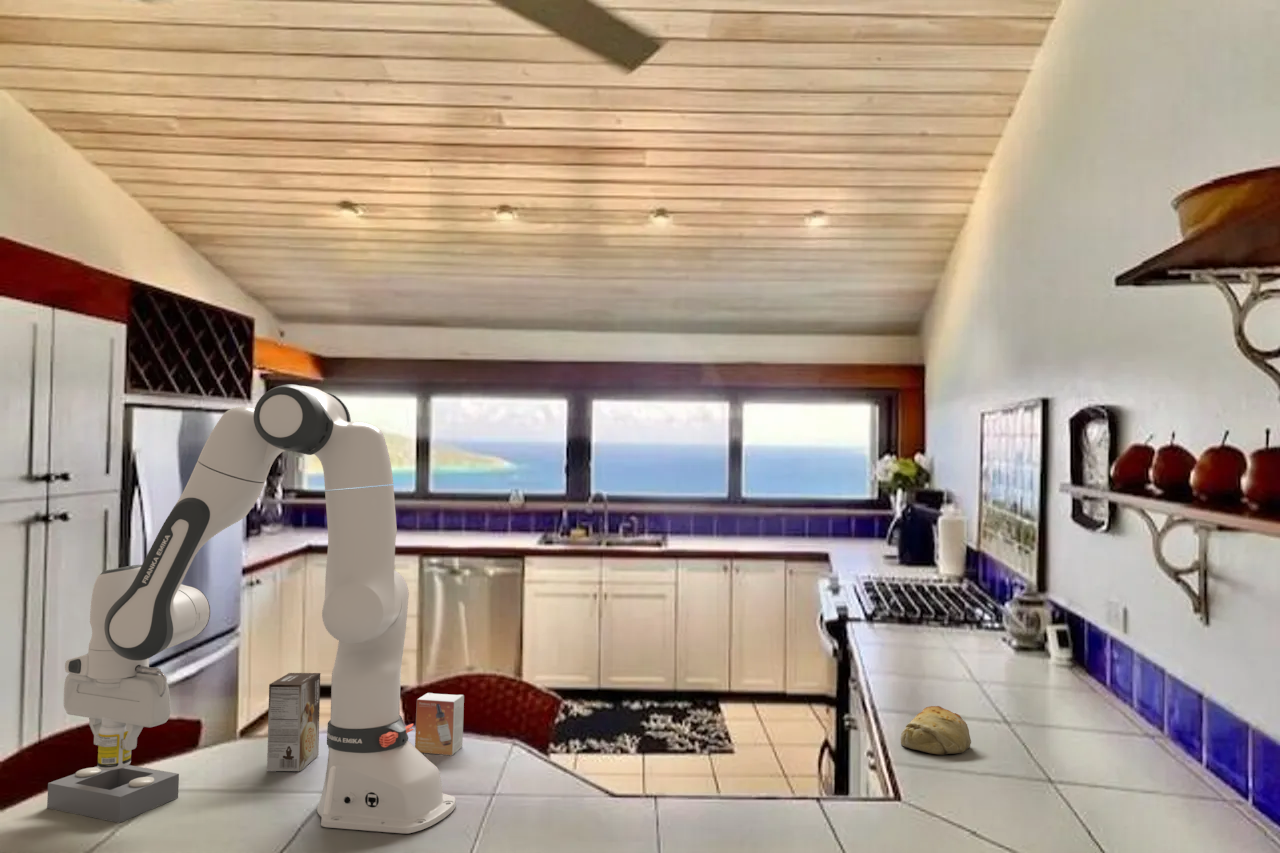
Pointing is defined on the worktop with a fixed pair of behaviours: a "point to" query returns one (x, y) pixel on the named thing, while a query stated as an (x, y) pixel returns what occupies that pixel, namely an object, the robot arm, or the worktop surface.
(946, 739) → the pastry
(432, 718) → the small box
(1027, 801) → the worktop surface
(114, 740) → the supplement bottle
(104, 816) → the housing
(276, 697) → the coffee box
